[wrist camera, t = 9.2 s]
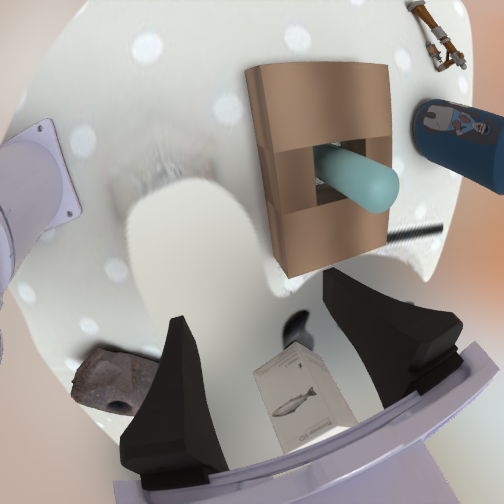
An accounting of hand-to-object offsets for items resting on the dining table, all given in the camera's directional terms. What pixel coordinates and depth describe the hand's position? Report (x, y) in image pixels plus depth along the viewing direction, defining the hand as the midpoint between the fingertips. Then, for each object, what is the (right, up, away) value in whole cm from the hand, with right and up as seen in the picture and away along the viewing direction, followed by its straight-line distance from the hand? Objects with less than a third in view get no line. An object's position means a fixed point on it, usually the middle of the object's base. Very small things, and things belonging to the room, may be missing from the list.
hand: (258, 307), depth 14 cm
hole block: (+5, +10, +8) cm, 14 cm away
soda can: (+18, +16, +9) cm, 26 cm away
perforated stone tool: (-13, -10, +15) cm, 22 cm away
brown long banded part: (+17, +25, +4) cm, 30 cm away
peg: (+5, +10, +8) cm, 14 cm away
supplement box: (+4, -12, +22) cm, 26 cm away
